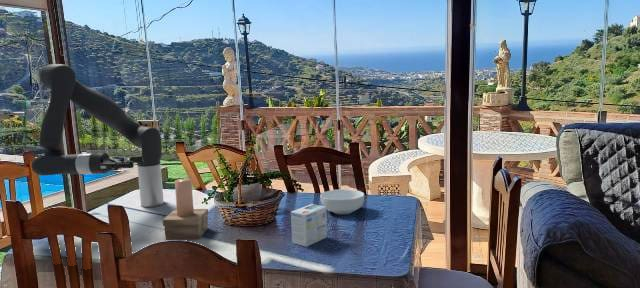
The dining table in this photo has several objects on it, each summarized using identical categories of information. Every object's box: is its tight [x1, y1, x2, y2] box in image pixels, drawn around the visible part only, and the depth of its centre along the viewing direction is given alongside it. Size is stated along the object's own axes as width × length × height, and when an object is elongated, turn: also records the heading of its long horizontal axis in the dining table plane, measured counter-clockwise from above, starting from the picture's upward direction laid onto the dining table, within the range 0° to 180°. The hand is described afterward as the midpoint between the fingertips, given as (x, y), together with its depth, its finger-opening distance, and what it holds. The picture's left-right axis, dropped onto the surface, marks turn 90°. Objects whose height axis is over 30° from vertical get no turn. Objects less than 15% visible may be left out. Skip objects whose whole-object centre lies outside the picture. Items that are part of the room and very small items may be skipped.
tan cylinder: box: [174, 178, 195, 217], centre depth 166 cm, size 6×6×12 cm
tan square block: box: [162, 208, 209, 241], centre depth 167 cm, size 12×12×7 cm
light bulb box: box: [290, 203, 328, 248], centre depth 157 cm, size 11×7×11 cm, turn 141°
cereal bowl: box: [319, 188, 365, 215], centre depth 187 cm, size 17×17×7 cm
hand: (138, 161), depth 170 cm, fingers open, 8 cm apart
